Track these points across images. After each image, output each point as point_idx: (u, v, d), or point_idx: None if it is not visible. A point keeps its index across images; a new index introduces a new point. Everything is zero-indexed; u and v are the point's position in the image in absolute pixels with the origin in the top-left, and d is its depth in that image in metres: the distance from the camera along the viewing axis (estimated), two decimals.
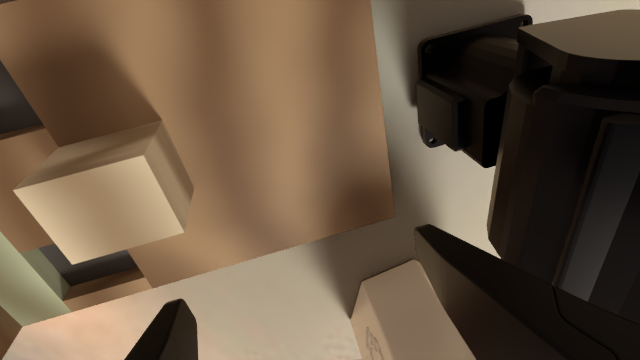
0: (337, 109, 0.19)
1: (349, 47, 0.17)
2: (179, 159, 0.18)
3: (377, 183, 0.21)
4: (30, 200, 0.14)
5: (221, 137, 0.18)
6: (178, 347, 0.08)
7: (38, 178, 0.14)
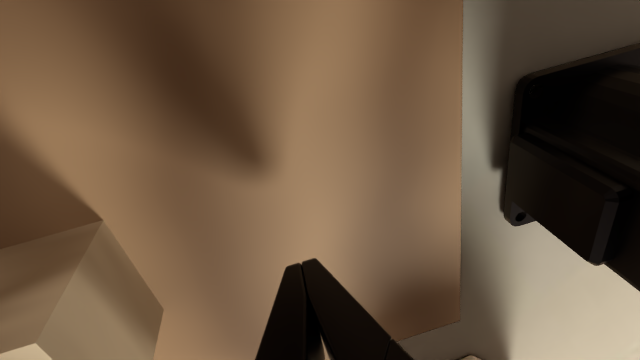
0: (392, 188, 0.12)
1: (420, 95, 0.10)
2: (136, 276, 0.11)
3: (440, 282, 0.14)
4: None
5: (205, 238, 0.11)
6: (311, 306, 0.08)
7: None
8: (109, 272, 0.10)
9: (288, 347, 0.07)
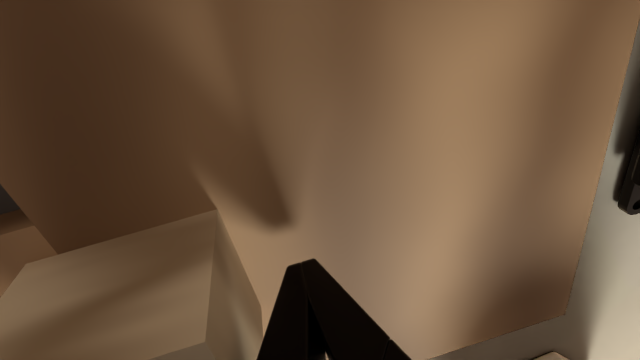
0: (535, 170, 0.11)
1: (586, 67, 0.09)
2: (242, 270, 0.10)
3: (556, 273, 0.14)
4: None
5: (342, 222, 0.10)
6: None
7: None
8: (229, 265, 0.09)
9: (290, 346, 0.07)
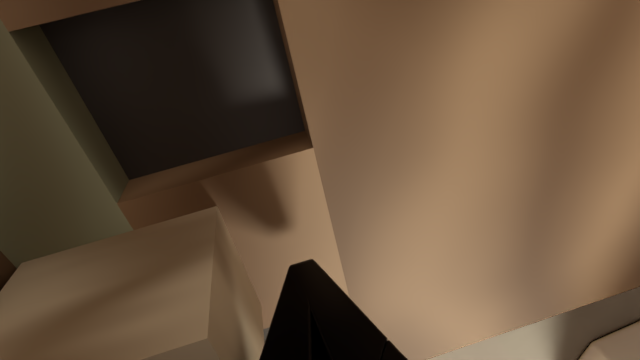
0: None
1: None
2: (242, 268, 0.10)
3: None
4: None
5: (558, 157, 0.11)
6: None
7: None
8: (229, 262, 0.09)
9: (293, 345, 0.07)
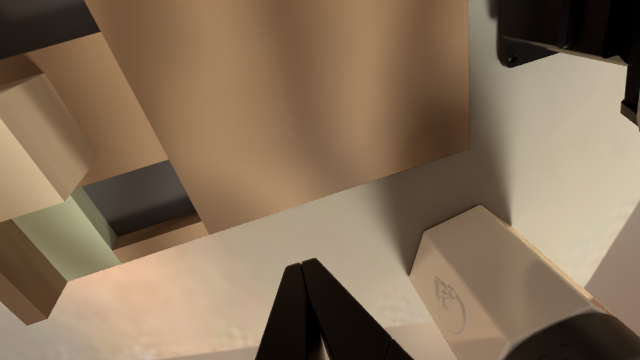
0: (420, 13, 0.17)
1: None
2: (73, 121, 0.15)
3: (454, 107, 0.19)
4: None
5: (292, 46, 0.16)
6: (311, 306, 0.08)
7: None
8: (47, 103, 0.14)
9: (288, 347, 0.07)
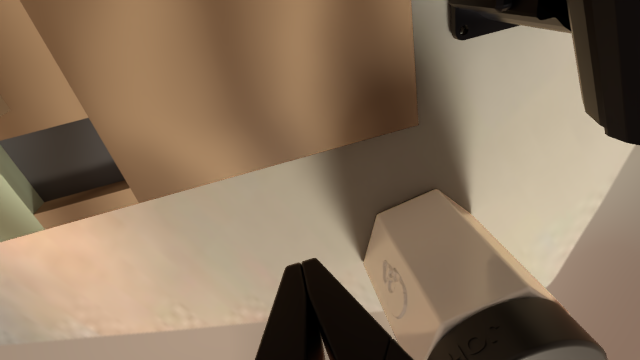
0: None
1: None
2: None
3: (400, 78, 0.18)
4: None
5: None
6: (311, 306, 0.08)
7: None
8: None
9: (288, 347, 0.07)
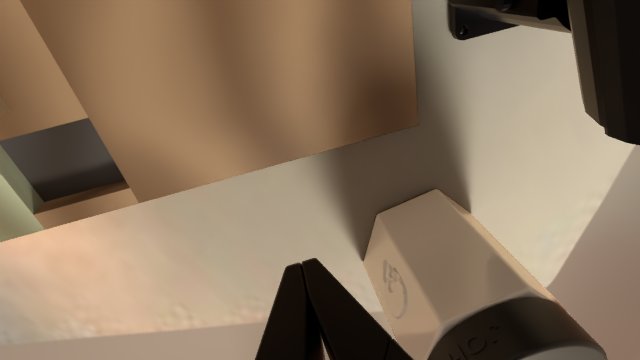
0: None
1: None
2: None
3: (400, 78, 0.18)
4: None
5: None
6: (311, 306, 0.08)
7: None
8: None
9: (288, 347, 0.07)
